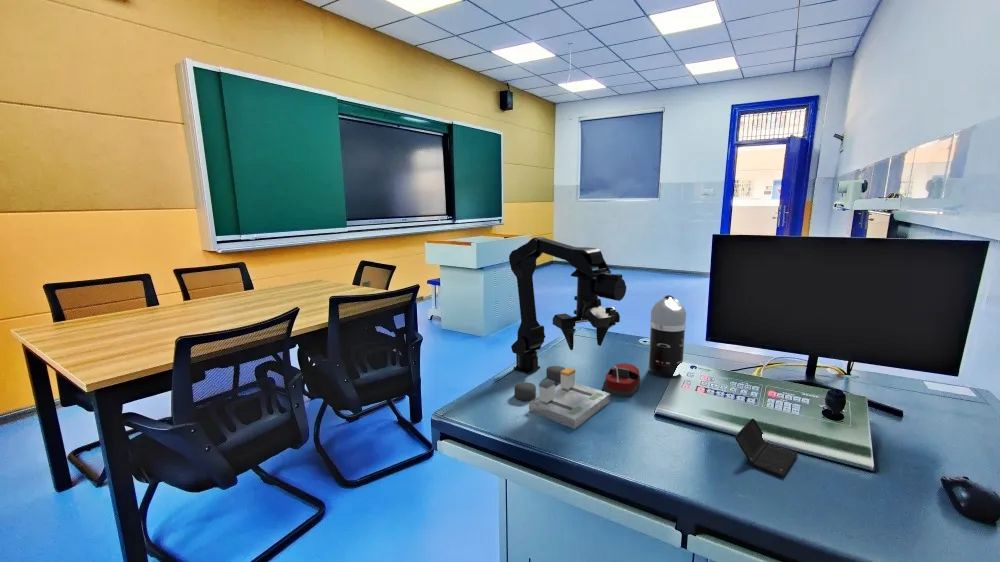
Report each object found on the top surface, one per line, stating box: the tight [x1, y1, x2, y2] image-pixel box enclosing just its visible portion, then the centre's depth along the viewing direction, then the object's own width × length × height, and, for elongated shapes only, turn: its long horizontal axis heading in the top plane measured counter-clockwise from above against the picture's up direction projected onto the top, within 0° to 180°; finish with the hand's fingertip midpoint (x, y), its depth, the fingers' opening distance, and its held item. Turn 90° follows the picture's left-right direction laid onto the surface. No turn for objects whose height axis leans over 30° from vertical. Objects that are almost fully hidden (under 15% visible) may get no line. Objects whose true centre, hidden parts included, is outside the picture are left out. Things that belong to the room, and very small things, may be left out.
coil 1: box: [514, 381, 537, 402], centre depth 120 cm, size 6×6×3 cm
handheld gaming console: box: [734, 418, 798, 479], centre depth 90 cm, size 12×7×10 cm
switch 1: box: [538, 378, 556, 403], centre depth 112 cm, size 2×4×5 cm
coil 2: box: [546, 365, 566, 384], centre depth 131 cm, size 6×6×3 cm
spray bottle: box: [648, 294, 687, 378], centre depth 132 cm, size 10×10×25 cm
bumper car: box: [603, 362, 642, 399], centre depth 124 cm, size 10×20×10 cm, turn 153°
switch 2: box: [560, 367, 576, 390], centre depth 119 cm, size 2×4×5 cm
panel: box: [528, 382, 611, 430], centre depth 114 cm, size 14×18×3 cm
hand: (585, 347), depth 120 cm, fingers open, 9 cm apart
